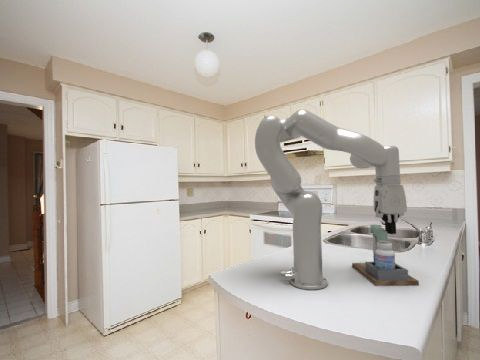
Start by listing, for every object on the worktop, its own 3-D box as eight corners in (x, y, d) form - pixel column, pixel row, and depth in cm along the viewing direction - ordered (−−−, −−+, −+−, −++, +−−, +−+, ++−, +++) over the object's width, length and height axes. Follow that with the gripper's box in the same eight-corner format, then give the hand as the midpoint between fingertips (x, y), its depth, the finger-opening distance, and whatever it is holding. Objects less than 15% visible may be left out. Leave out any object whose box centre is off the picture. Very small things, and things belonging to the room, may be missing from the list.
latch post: (375, 265, 102) (374, 234, 102) (372, 263, 104) (371, 233, 105) (381, 265, 102) (380, 234, 102) (378, 263, 104) (377, 232, 105)
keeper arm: (369, 231, 106) (369, 224, 106) (380, 232, 105) (380, 224, 105) (377, 240, 90) (376, 231, 90) (390, 240, 89) (389, 232, 89)
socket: (378, 281, 86) (377, 270, 86) (365, 271, 95) (365, 261, 95) (408, 280, 85) (407, 270, 85) (392, 271, 95) (392, 261, 95)
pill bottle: (373, 276, 90) (372, 243, 90) (377, 271, 95) (376, 240, 95) (394, 280, 86) (392, 246, 86) (397, 275, 91) (395, 242, 91)
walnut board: (374, 285, 86) (374, 281, 86) (352, 266, 106) (352, 263, 106) (418, 285, 85) (418, 280, 85) (387, 266, 105) (387, 262, 105)
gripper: (377, 181, 87) (380, 237, 86) (414, 180, 90) (417, 233, 89) (362, 182, 94) (364, 233, 94) (397, 180, 97) (400, 230, 97)
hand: (390, 233), depth 92 cm, fingers closed
